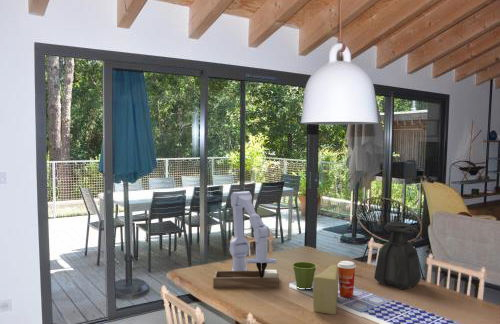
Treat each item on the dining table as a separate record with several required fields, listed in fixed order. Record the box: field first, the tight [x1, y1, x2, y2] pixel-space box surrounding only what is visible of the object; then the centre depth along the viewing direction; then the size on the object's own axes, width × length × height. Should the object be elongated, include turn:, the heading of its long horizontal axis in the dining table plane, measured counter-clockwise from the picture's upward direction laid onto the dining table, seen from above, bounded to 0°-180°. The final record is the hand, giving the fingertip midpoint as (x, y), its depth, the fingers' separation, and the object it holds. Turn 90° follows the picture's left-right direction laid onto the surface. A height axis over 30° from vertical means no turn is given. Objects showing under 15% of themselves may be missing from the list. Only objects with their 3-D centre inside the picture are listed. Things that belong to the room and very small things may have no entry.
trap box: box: [212, 270, 280, 288], centre depth 212 cm, size 12×32×4 cm, turn 90°
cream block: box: [264, 269, 278, 278], centre depth 212 cm, size 6×6×4 cm
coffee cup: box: [336, 260, 357, 298], centre depth 195 cm, size 8×8×15 cm
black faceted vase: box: [373, 221, 422, 291], centre depth 210 cm, size 18×16×30 cm
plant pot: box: [292, 261, 318, 289], centre depth 205 cm, size 12×12×11 cm
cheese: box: [312, 264, 339, 315], centre depth 184 cm, size 22×10×15 cm, turn 156°
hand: (261, 277), depth 212 cm, fingers closed
